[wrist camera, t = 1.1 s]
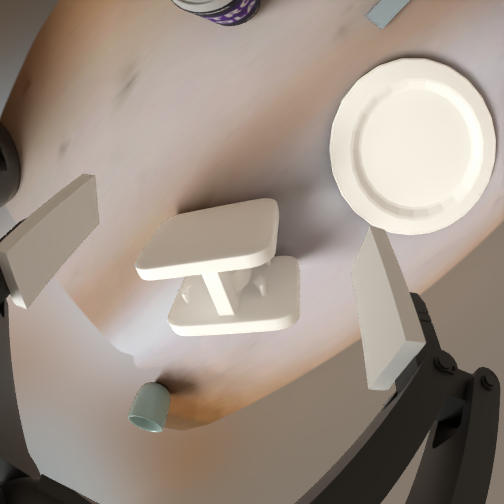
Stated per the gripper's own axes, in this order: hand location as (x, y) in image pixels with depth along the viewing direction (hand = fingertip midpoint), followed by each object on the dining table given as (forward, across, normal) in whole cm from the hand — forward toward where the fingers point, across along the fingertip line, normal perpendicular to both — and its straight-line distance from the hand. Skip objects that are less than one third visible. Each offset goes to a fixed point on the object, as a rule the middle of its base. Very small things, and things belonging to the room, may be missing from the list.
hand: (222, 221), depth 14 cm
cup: (+21, -14, -58) cm, 63 cm away
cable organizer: (+21, -1, -15) cm, 26 cm away
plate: (+22, +17, +2) cm, 28 cm away
